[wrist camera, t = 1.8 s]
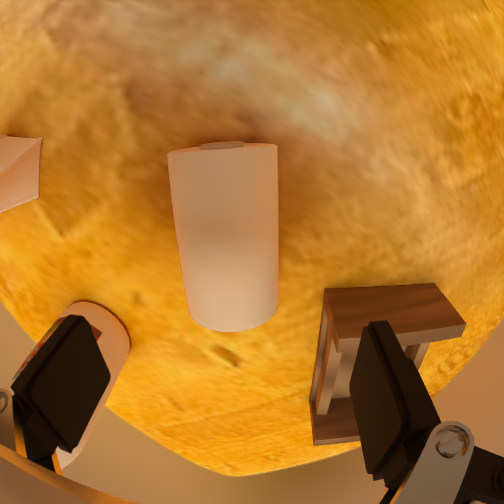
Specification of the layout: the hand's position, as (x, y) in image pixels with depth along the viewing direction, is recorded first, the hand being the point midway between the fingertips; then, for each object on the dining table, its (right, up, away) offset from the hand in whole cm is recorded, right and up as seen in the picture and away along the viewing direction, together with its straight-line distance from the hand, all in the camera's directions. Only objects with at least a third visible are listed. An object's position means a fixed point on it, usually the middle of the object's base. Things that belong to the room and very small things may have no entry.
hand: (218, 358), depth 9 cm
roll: (0, +6, +11) cm, 12 cm away
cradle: (+12, -6, +16) cm, 21 cm away
